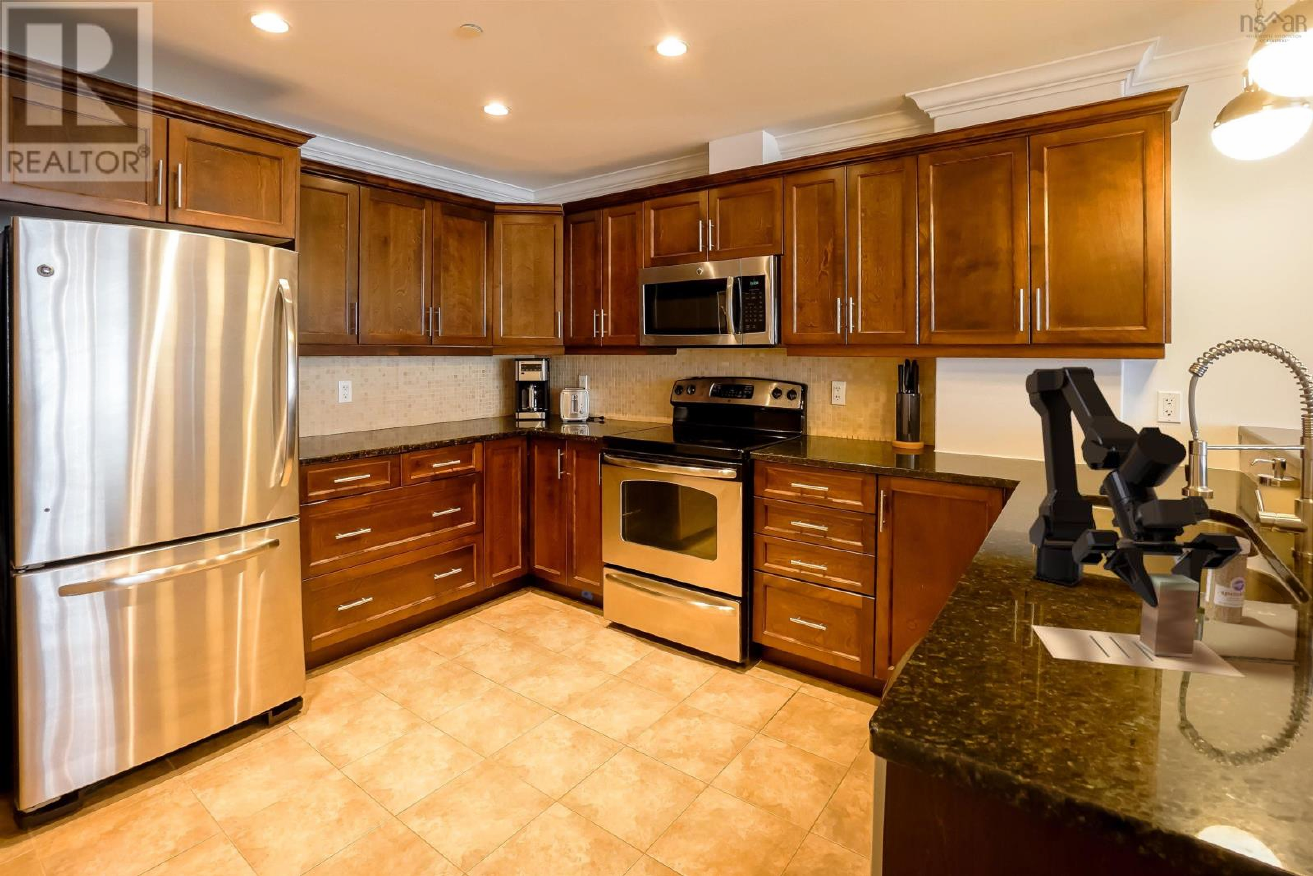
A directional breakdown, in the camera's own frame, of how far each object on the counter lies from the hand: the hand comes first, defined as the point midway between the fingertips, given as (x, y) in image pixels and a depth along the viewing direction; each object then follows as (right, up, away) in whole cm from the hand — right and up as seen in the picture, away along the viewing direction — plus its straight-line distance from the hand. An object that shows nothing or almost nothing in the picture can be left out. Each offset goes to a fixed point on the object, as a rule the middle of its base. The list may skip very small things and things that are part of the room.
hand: (1175, 607), depth 86 cm
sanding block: (0, -6, +2) cm, 7 cm away
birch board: (-4, -8, +3) cm, 9 cm away
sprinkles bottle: (+18, -6, +14) cm, 23 cm away
